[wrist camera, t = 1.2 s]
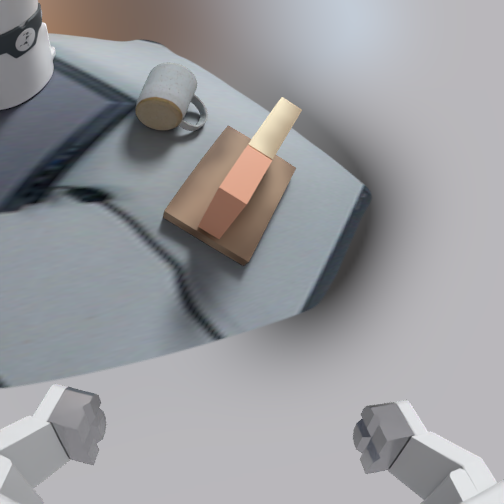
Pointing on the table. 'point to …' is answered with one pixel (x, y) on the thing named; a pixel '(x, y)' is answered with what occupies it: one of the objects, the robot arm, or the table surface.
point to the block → (235, 192)
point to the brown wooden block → (215, 171)
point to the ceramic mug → (169, 98)
